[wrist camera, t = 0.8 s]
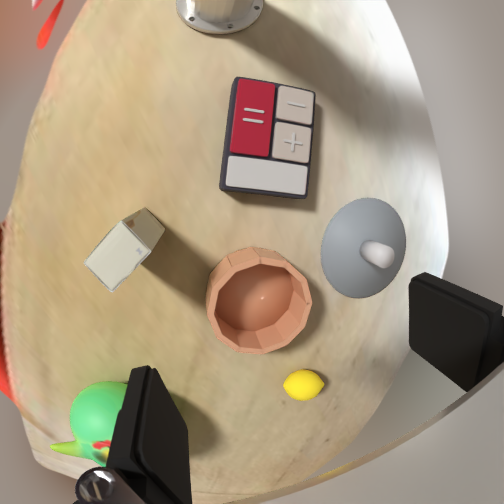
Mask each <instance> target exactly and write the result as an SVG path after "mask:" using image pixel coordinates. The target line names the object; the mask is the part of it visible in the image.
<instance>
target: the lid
mask: <svg viewBox="0 0 504 504" xmlns="http://www.w3.org/2000/svg"><path fill="white" fill-rule="evenodd" d="M405 248H406V235H405V229H404V226H403V223H402V220H401V218H400V216H399V215H398V213H397V212H396V211H395V210H394V208H392V207H391V206H390V205H389V204H387V203H386V202H384V201H382V200H379V199H375V198H361V199H357V200H354V201H352V202H350V203H348V204H347V205H345V206H344V207H342V208H341V209H340V210H339V211H338V212H337V213H336V214H335V215H334V217H333V218H332V219H331V221H330V223H329V224H328V226H327V228H326V231H325V233H324V236H323V240H322V245H321V263H322V268H323V271H324V274H325V276H326V278H327V280H328V281H329V283H330V284H331V285H332V286H333V288H335V289H336V290H337V291H338V292H340V293H341V294H343V295H346V296H348V297H353V298H364V297H368V296H371V295H374V294H376V293H378V292H379V291H381V290H382V289H384V288H385V287H386V286H387V285H388V284H389V283H390V282H391V281H392V280H393V278H394V277H395V276H396V274H397V272H398V271H399V269H400V267H401V264H402V262H403V259H404V254H405Z"/></svg>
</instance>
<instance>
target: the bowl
mask: <svg viewBox="0 0 504 504" xmlns="http://www.w3.org/2000/svg"><path fill="white" fill-rule="evenodd" d="M205 300H206V309H207V316H208V318H209V321H210V323H211V325H212V328H213V330H214V333H215V335H216V337H217V338H218V339H219V340H220V341H222V342H223V343H225V344H226V345H228V346H229V347H231V348H232V349H233V350H235V351H236V352H242V353H252V354H265V353H268V352H271V351H273V350H276V349H279V348H281V347H284V346H286V345H288V344H289V343H290V342H291V341H292V340H293V339H294V338H295V337H296V336H297V335H298V334H299V332H300V331H301V330H302V329H303V328H304V326H305V325H306V322H307V319H308V315H309V312H310V309H311V306H312V299H311V295H310V291H309V287H308V283H307V279H306V278H305V277H304V276H303V275H302V274H301V273H299V272H298V271H297V270H296V269H295V268H294V267H293V266H292V265H291V264H290V263H289V262H287V261H286V260H285V259H284V258H283V257H282V256H280V255H279V254H278V253H277V252H276V251H271V250H267V249H263V248H256V247H249V248H245V249H241V250H238V251H236V252H233V253H231V254H229V255H226V257H225V258H224V259H223V260H221V261H220V262H219V263H218V265H217V266H216V267H215V268H214V270H213V271H212V272H211V273H210V275H209V281H208V284H207V291H206V296H205Z"/></svg>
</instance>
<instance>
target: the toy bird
mask: <svg viewBox="0 0 504 504" xmlns="http://www.w3.org/2000/svg"><path fill="white" fill-rule="evenodd" d="M127 385H128V384H124V383H120V382H112V381H106V382H99V383H95V384H92V385H90V386H88V387H87V388H85V389H84V390H82V391H81V392H80V393H79V394H78V396H77V397H76V398H75V400H74V402H73V404H72V407H71V410H70V426H71V430H72V433H73V435H74V437H75V439H76V440H75V441H72V442H65V443H57V444H52V445H50V448H51V449H52V450H54V451H56V452H59V453H62V454H66V455H71V456H75V457H81V458H86V459H91V460H94V461H95V462H96V463H98V464H99V465H101V466H103V467H106V462H107V458H108V453H109V448H110V444H111V440H112V435H113V431H114V427H115V423H116V419H117V415H118V412H119V410H121V408H122V404H123V400H124V396H125V392H126V389H127Z"/></svg>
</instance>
